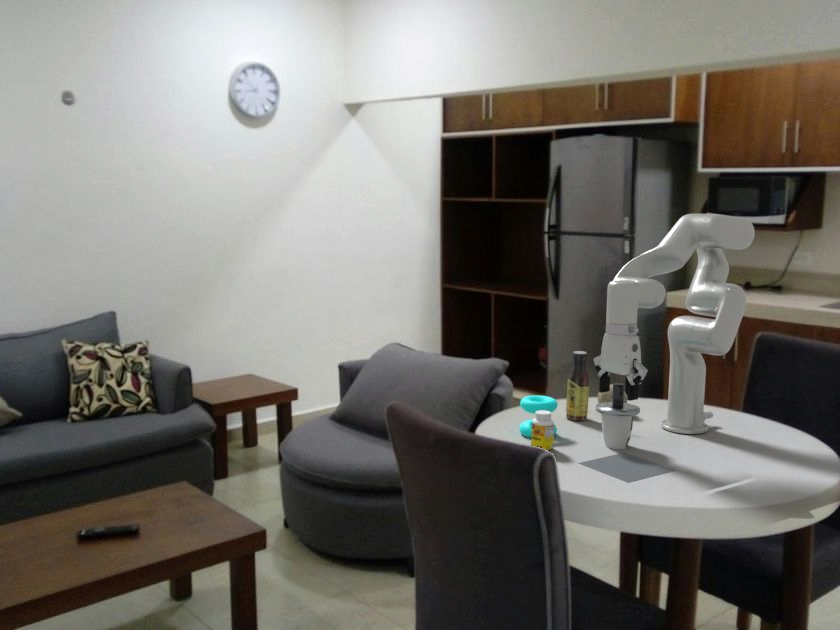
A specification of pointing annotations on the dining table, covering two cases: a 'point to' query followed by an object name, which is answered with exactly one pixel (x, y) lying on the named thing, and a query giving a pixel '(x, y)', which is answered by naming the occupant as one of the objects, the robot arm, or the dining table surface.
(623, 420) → the cup
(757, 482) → the dining table surface
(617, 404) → the lid
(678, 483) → the dining table surface
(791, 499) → the dining table surface
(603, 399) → the garlic bulb
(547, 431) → the supplement bottle
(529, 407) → the donuts
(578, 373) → the sauce bottle
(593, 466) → the mat
